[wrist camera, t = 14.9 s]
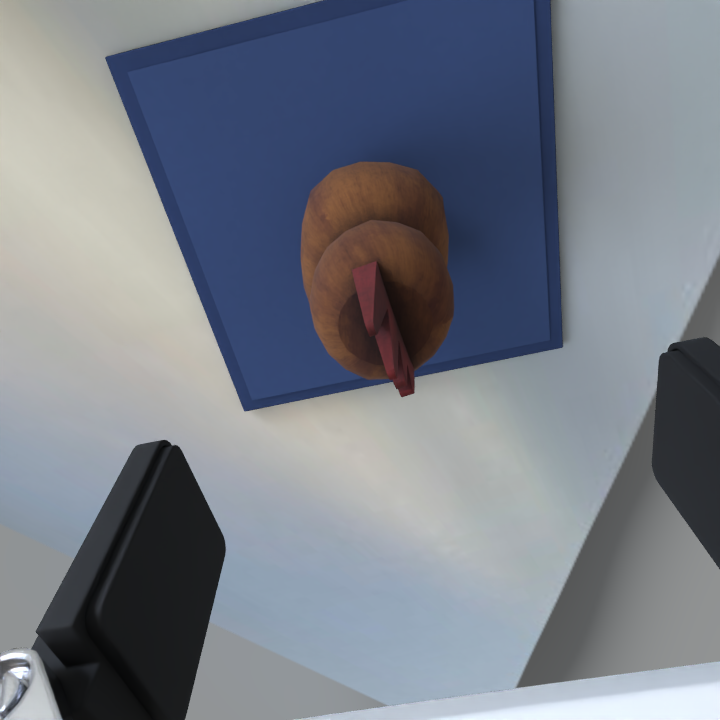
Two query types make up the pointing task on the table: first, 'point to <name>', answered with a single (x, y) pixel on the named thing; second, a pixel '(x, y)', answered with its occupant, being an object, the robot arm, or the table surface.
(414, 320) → the wooden figurine
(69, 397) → the table surface
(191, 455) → the table surface
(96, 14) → the table surface
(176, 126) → the blue square tray
